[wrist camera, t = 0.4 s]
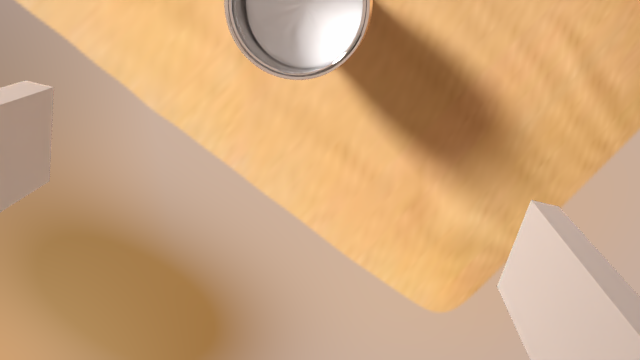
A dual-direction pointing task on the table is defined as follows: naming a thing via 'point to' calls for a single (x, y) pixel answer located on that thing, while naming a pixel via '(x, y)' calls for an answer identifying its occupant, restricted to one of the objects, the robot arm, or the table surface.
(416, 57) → the table surface
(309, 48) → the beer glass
